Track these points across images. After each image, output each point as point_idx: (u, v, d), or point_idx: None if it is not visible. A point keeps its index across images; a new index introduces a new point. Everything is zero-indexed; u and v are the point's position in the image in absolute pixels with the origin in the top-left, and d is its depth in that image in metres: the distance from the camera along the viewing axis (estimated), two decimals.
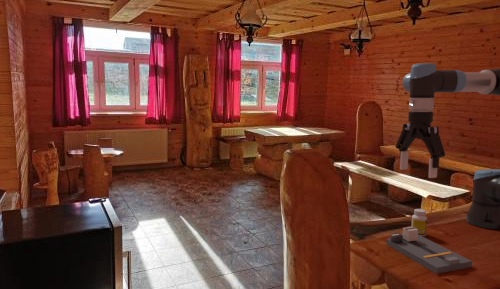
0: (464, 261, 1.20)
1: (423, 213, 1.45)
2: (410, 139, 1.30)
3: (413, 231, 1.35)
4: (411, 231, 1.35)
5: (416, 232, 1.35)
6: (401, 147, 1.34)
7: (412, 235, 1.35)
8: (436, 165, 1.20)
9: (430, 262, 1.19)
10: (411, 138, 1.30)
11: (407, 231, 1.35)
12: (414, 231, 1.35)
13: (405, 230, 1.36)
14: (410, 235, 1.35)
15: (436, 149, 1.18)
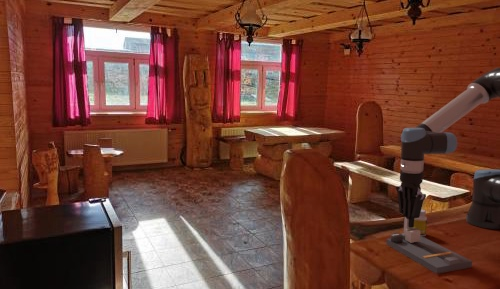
0: (464, 261, 1.20)
1: (423, 213, 1.45)
2: (407, 199, 1.36)
3: (415, 232, 1.34)
4: (413, 232, 1.34)
5: (418, 233, 1.34)
6: (404, 212, 1.37)
7: (414, 236, 1.34)
8: (411, 225, 1.35)
9: (430, 262, 1.19)
10: (407, 198, 1.36)
11: (409, 232, 1.34)
12: (416, 232, 1.34)
13: (407, 231, 1.35)
14: (412, 236, 1.34)
15: (414, 212, 1.32)
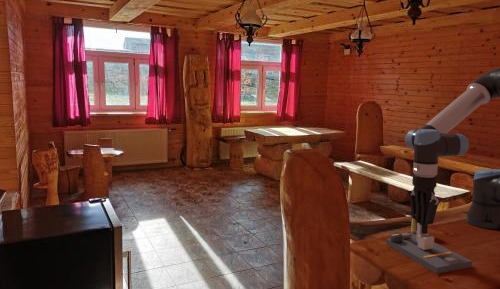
0: (464, 261, 1.20)
1: None
2: (420, 204, 1.30)
3: (429, 239, 1.28)
4: (427, 239, 1.27)
5: (432, 240, 1.28)
6: (416, 217, 1.31)
7: (428, 243, 1.28)
8: (425, 231, 1.29)
9: (430, 262, 1.19)
10: (420, 203, 1.30)
11: (423, 239, 1.28)
12: (430, 239, 1.28)
13: (420, 238, 1.29)
14: (426, 243, 1.28)
15: (427, 218, 1.26)
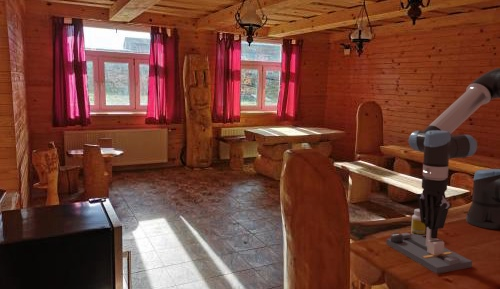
0: (464, 261, 1.20)
1: None
2: (429, 208, 1.26)
3: (439, 244, 1.24)
4: (437, 244, 1.23)
5: (442, 245, 1.24)
6: (426, 221, 1.27)
7: (438, 248, 1.24)
8: (435, 236, 1.25)
9: (430, 262, 1.19)
10: (430, 207, 1.26)
11: (433, 244, 1.24)
12: (440, 244, 1.24)
13: (430, 243, 1.25)
14: (436, 248, 1.23)
15: (437, 222, 1.22)
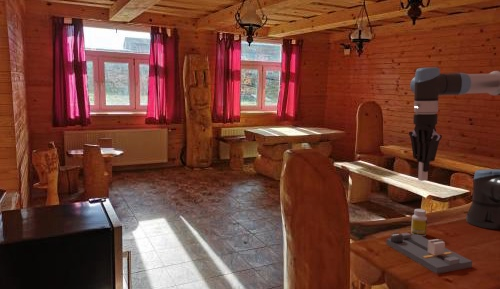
0: (464, 261, 1.20)
1: (423, 213, 1.45)
2: (421, 143, 1.32)
3: (439, 244, 1.23)
4: (437, 244, 1.23)
5: (442, 245, 1.24)
6: (418, 156, 1.33)
7: (438, 248, 1.24)
8: (426, 169, 1.31)
9: (430, 262, 1.19)
10: (421, 142, 1.32)
11: (433, 244, 1.24)
12: (441, 244, 1.24)
13: (431, 243, 1.24)
14: (436, 248, 1.23)
15: (429, 155, 1.28)
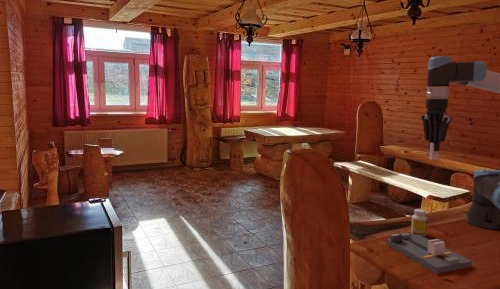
0: (464, 261, 1.20)
1: (423, 213, 1.45)
2: (432, 125, 1.45)
3: (439, 244, 1.23)
4: (437, 244, 1.23)
5: (442, 245, 1.24)
6: (429, 138, 1.46)
7: (438, 248, 1.24)
8: (437, 149, 1.44)
9: (430, 262, 1.19)
10: (433, 124, 1.45)
11: (433, 244, 1.24)
12: (441, 244, 1.24)
13: (431, 243, 1.24)
14: (436, 248, 1.23)
15: (440, 136, 1.41)
